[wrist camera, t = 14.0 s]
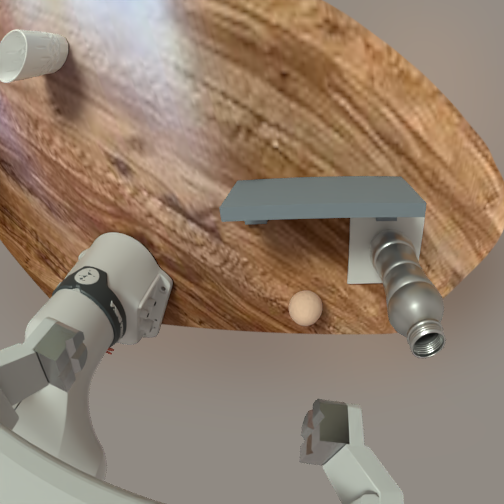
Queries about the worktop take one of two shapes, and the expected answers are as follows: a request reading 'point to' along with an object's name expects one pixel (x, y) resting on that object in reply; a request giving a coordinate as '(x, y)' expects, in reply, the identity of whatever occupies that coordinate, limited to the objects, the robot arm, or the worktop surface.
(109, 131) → the worktop surface
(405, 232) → the grey mat
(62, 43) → the white cup
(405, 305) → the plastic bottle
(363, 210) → the slate screen
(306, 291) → the egg
